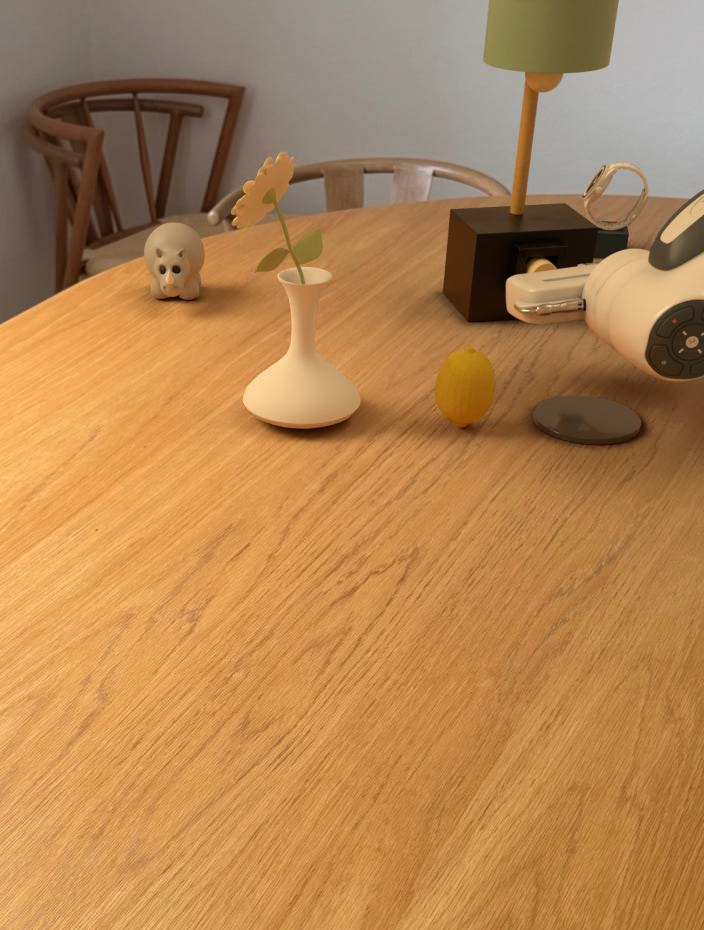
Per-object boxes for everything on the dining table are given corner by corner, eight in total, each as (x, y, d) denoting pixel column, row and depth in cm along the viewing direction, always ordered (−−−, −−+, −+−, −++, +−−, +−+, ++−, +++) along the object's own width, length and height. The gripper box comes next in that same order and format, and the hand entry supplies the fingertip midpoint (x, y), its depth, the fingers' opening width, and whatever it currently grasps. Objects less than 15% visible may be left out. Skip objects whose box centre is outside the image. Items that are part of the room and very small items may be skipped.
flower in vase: (313, 383, 129) (321, 126, 115) (383, 421, 121) (401, 150, 107) (206, 412, 123) (201, 146, 109) (273, 455, 115) (276, 173, 101)
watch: (573, 243, 167) (586, 157, 161) (636, 246, 166) (651, 160, 160) (574, 256, 163) (587, 168, 156) (639, 259, 161) (654, 171, 155)
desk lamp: (593, 322, 143) (646, -6, 124) (474, 330, 141) (510, -2, 122) (552, 285, 153) (595, -23, 135) (441, 292, 152) (469, -19, 133)
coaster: (630, 402, 124) (631, 397, 124) (648, 446, 116) (649, 440, 116) (527, 399, 125) (528, 394, 125) (538, 443, 117) (539, 437, 117)
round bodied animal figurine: (137, 318, 145) (133, 245, 140) (149, 284, 155) (146, 214, 150) (199, 319, 145) (198, 245, 140) (207, 285, 155) (206, 215, 150)
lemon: (496, 438, 118) (506, 357, 113) (438, 440, 118) (446, 359, 113) (482, 414, 122) (491, 335, 118) (426, 416, 122) (433, 337, 118)
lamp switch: (556, 289, 139) (560, 262, 137) (530, 291, 138) (533, 264, 137) (548, 282, 141) (551, 255, 139) (522, 283, 140) (525, 257, 139)
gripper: (522, 347, 120) (491, 314, 132) (738, 318, 119) (687, 288, 131) (521, 280, 117) (489, 253, 129) (742, 251, 116) (689, 225, 128)
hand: (591, 270), depth 130 cm, fingers closed
